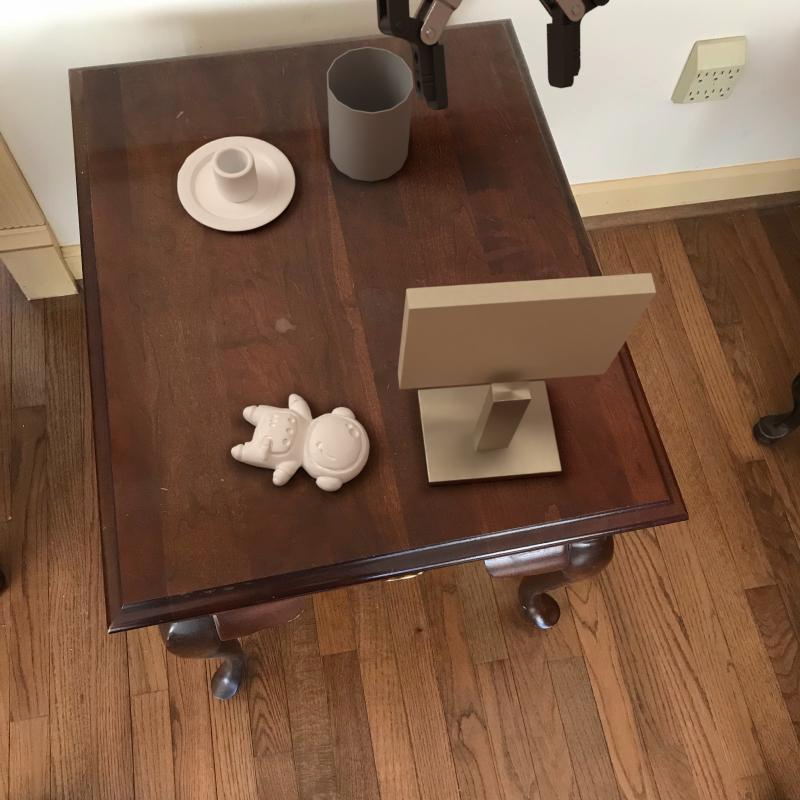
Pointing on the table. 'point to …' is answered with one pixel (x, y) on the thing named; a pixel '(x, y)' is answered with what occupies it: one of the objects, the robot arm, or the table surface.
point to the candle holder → (236, 183)
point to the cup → (369, 112)
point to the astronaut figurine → (305, 443)
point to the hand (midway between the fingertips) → (500, 97)
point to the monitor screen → (518, 329)
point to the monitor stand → (487, 433)
